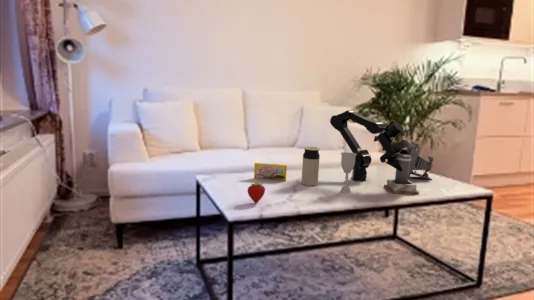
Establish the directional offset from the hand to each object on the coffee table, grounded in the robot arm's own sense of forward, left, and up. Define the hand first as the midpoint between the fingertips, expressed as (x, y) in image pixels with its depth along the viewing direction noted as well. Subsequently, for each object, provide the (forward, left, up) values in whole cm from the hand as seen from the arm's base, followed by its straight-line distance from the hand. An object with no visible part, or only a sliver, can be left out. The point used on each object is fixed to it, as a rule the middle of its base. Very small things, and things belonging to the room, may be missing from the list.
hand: (405, 170), depth 204 cm
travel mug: (-44, +9, -10) cm, 46 cm away
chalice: (-29, -3, -10) cm, 31 cm away
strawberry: (-72, -24, -10) cm, 76 cm away
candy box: (-63, +16, -11) cm, 66 cm away
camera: (+18, +29, -11) cm, 36 cm away
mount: (-1, +1, -10) cm, 10 cm away
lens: (-1, +1, -7) cm, 7 cm away
